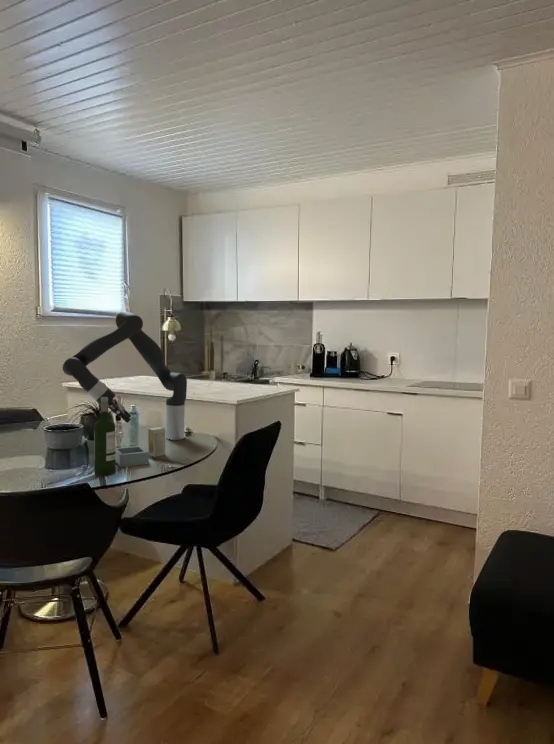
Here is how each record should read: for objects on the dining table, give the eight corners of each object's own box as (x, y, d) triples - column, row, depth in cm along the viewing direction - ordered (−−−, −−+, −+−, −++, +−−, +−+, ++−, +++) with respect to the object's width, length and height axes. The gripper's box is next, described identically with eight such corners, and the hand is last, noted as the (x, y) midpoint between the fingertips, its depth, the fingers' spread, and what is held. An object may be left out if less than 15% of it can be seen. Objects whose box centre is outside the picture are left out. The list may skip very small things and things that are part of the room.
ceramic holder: (113, 459, 230) (112, 448, 229) (141, 456, 236) (141, 445, 235) (119, 467, 220) (119, 455, 219) (148, 463, 225) (148, 452, 225)
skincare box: (160, 453, 243) (160, 426, 242) (165, 455, 240) (165, 428, 239) (147, 455, 239) (147, 428, 237) (153, 457, 235) (153, 429, 234)
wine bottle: (114, 475, 208) (113, 398, 205) (92, 476, 206) (91, 399, 203) (116, 470, 215) (116, 395, 212) (96, 470, 214) (95, 395, 211)
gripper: (107, 389, 224) (135, 416, 228) (108, 385, 238) (135, 410, 242) (93, 402, 223) (122, 429, 227) (96, 397, 237) (123, 422, 241)
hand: (129, 419), depth 235 cm, fingers open, 8 cm apart
